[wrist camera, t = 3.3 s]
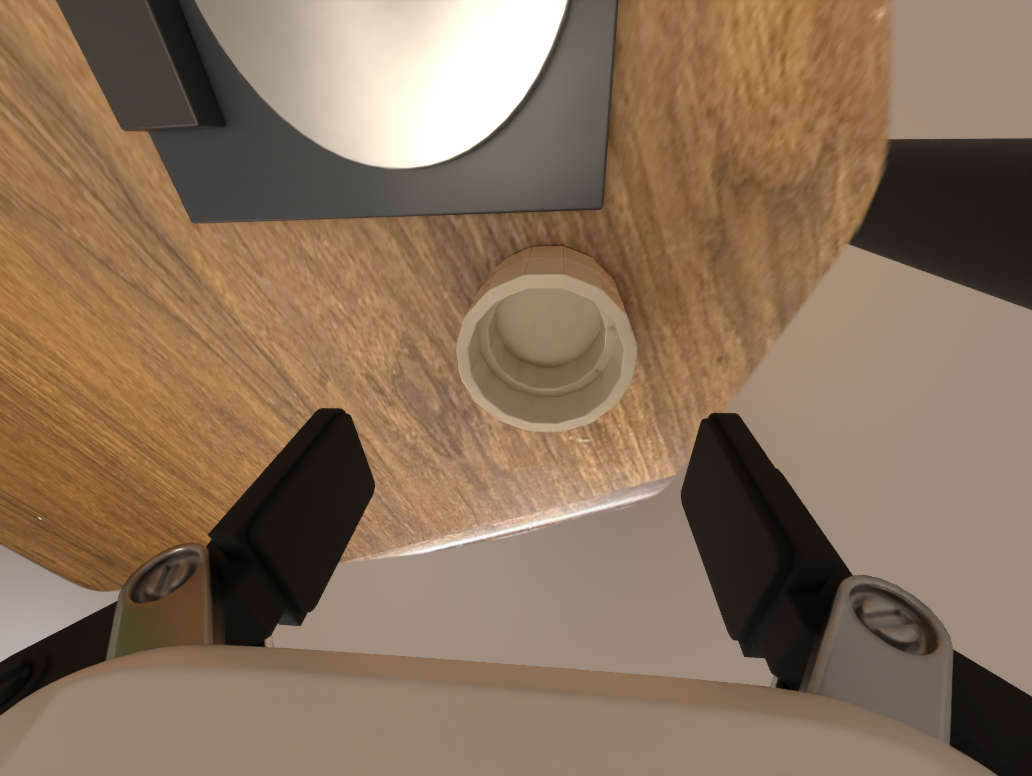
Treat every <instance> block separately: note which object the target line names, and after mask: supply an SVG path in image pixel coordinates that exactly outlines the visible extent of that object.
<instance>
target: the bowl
mask: <svg viewBox="0 0 1032 776" xmlns="http://www.w3.org/2000/svg"><path fill="white" fill-rule="evenodd" d="M637 351H638V348H637V343H636V340H635V337H634V334H633V331H632V328H631V325H630V322H629V319H628V316H627V313H626V311H625V308H624V305H623V303H622V300H621V298H620V295H619V292H618V290H617V287H616V284H615V282H614V280H613V278H612V277H611V276H610V275H609V274H608V273H607V272H606V271H605V270H604V269H603V268H602V267H601V266H600V265H599V264H598V263H597V261H596V260H595V259H592V258H591V257H589V256H587V255H584V254H582V253H579V252H577V251H575V250H572V249H570V248H567V247H563V246H538V247H532V248H531V247H530V248H527V249H525V250H523V251H521V252H519V253H517V254H514V255H512V256H510V257H508V258H506V259H504V260H503V261H502V262H501V263H500V264H499V265H498V266H497V267H496V268H495V269H494V271H493V272H492V273H491V274H490V275H489V276H488V277H487V278H486V280H485V281H484V283H483V284H482V286H481V288H480V290H479V292H478V293H477V295H476V297H475V299H474V300H473V302H472V304H471V306H470V308H469V310H468V311H467V313H466V315H465V317H464V320H463V323H462V326H461V330H460V333H459V336H458V339H457V343H456V355H457V361H458V368H459V375H460V378H461V380H462V381H463V383H464V385H465V386H466V388H467V389H468V391H469V393H470V394H471V396H472V398H473V399H474V401H475V402H476V403H477V404H478V405H479V406H481V407H482V408H483V409H484V410H486V411H487V412H488V413H490V414H491V415H492V416H494V417H495V418H496V419H497V420H499V421H500V422H503V423H506V424H509V425H512V426H514V427H517V428H520V429H523V430H526V431H530V432H563V431H567V430H570V429H574V428H577V427H581V426H584V425H588V424H590V423H592V422H594V421H595V420H597V419H598V418H599V417H601V416H602V415H604V414H605V413H606V412H608V411H609V410H611V409H612V408H614V407H615V405H617V403H618V402H619V400H620V399H621V397H622V396H623V394H624V393H625V391H626V390H627V388H628V387H629V385H630V384H631V382H632V380H633V378H634V371H635V365H636V358H637Z"/></svg>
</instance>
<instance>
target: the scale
mask: <svg viewBox="0 0 1032 776" xmlns="http://www.w3.org/2000/svg"><path fill="white" fill-rule="evenodd" d="M56 1H57V3H58V5H59V7H60V9H61V11H62V13H63V15H64V17H65V19H66V21H67V23H68V25H69V27H70V29H71V31H72V33H73V35H74V37H75V39H76V40H77V42H78V44H79V46H80V48H81V50H82V52H83V54H84V56H85V58H86V60H87V62H88V64H89V66H90V68H91V70H92V72H93V74H94V76H95V78H96V80H97V82H98V84H99V86H100V87H101V89H102V91H103V93H104V95H105V97H106V99H107V101H108V103H109V105H110V107H111V109H112V111H113V113H114V115H115V117H116V119H117V121H118V123H119V125H120V127H121V128H122V130H124V131H145V132H149V134H150V136H151V139H152V141H153V143H154V145H155V147H156V149H157V151H158V153H159V155H160V157H161V159H162V161H163V163H164V166H165V168H166V170H167V172H168V174H169V176H170V178H171V180H172V182H173V184H174V186H175V188H176V191H177V193H178V195H179V197H180V199H181V201H182V203H183V205H184V207H185V209H186V211H187V213H188V216H189V218H190V220H191V222H192V223H195V224H196V223H226V222H255V221H284V220H314V219H343V218H372V217H402V216H431V215H460V214H490V213H519V212H548V211H578V210H601V209H602V208H603V203H604V189H605V176H606V162H607V149H608V135H609V122H610V108H611V95H612V82H613V68H614V55H615V41H616V28H617V14H618V1H619V0H56Z"/></svg>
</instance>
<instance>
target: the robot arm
mask: <svg viewBox="0 0 1032 776" xmlns="http://www.w3.org/2000/svg"><path fill="white" fill-rule="evenodd" d="M374 489H375V482H374V479H373V476H372V473H371V470H370V467H369V465H368V462H367V459H366V456H365V454H364V451H363V448H362V445H361V442H360V440H359V437H358V434H357V431H356V428H355V426H354V423H353V420H352V418H351V416H350V415H349V414H346V413H345V411H344V410H343V409H340V408H321V409H318V410H317V411H316V412H315V413H314V414H313V415H312V417H311V418H310V419H309V420H308V421H307V422H306V423H305V425H304V426H303V427H302V428H301V429H300V430H299V431H298V433H297V434H296V435H295V436H294V437H293V438H292V439H291V441H290V442H289V443H288V444H287V445H286V446H285V447H284V448H283V450H282V451H281V452H280V453H279V454H278V455H277V456H276V458H275V459H274V460H273V461H272V462H271V463H270V464H269V466H268V467H267V468H266V469H265V470H264V471H263V472H262V474H261V475H260V476H259V477H258V478H257V479H256V480H255V482H254V483H253V484H252V485H251V486H250V487H249V488H248V490H247V491H246V492H245V493H244V494H243V495H242V496H241V498H240V499H239V500H238V501H237V502H236V503H235V504H234V506H233V507H232V508H231V509H230V510H229V511H228V512H227V514H226V515H225V516H224V517H223V518H222V519H221V520H220V522H219V523H218V524H217V525H216V526H215V527H214V528H213V530H212V531H211V532H210V533H209V534H208V535H209V537H210V538H211V539H212V540H211V541H210V542H209V544H208V545H207V546H206V547H205V546H203V545H202V544H200V543H193V542H191V543H185V544H180V545H177V546H174V547H171V548H168V549H166V550H164V551H162V552H161V553H159V554H157V555H155V556H153V557H152V558H151V559H149V560H148V561H146V562H145V563H144V564H142V565H141V566H140V567H139V568H138V569H137V570H136V571H135V572H134V573H133V574H131V576H130V577H129V578H128V580H127V581H126V582H125V584H124V585H123V586H122V589H121V591H120V594H119V596H118V601H116V602H114V603H113V604H111V605H109V606H107V607H105V608H103V609H101V610H99V611H97V612H95V613H93V614H91V615H89V616H87V617H85V618H83V619H81V620H80V621H78V622H76V623H74V624H72V625H70V626H68V627H66V628H64V629H62V630H60V631H58V632H56V633H54V634H52V635H50V636H48V637H47V638H45V639H43V640H41V641H39V642H37V643H35V644H33V645H31V646H29V647H27V648H25V649H23V650H21V651H19V652H17V653H16V654H14V655H12V656H10V657H8V658H7V659H5V660H3V661H2V662H0V776H1032V696H1030V695H1028V694H1026V693H1025V692H1023V691H1021V690H1020V689H1018V688H1017V687H1015V686H1013V685H1012V684H1010V683H1008V682H1007V681H1005V680H1003V679H1002V678H1000V677H998V676H997V675H995V674H993V673H992V672H990V671H988V670H987V669H985V668H983V667H982V666H980V665H978V664H977V663H975V662H973V661H972V660H970V659H968V658H967V657H965V656H963V655H962V654H960V653H958V652H957V651H955V650H953V647H952V642H951V638H950V636H949V634H948V632H947V630H946V629H945V627H944V625H943V624H942V622H941V621H940V620H939V619H938V618H937V616H936V615H935V614H934V613H933V612H932V611H931V610H930V609H929V608H928V607H927V606H926V605H925V604H923V603H922V602H921V601H920V600H918V599H917V598H916V597H915V596H913V595H912V594H910V593H909V592H907V591H905V590H903V589H902V588H900V587H899V586H897V585H895V584H892V583H890V582H887V581H885V580H882V579H880V578H876V577H871V576H866V575H857V576H856V575H855V576H853V575H852V574H851V572H850V571H849V569H848V568H847V566H846V565H845V563H844V562H843V561H842V559H841V558H840V556H839V555H838V553H837V552H836V550H835V549H834V548H833V546H832V545H831V543H830V542H829V540H828V539H827V538H826V536H825V535H824V533H823V532H822V530H821V529H820V527H819V526H818V525H817V523H816V522H815V520H814V519H813V517H812V516H811V514H810V513H809V512H808V510H807V509H806V507H805V506H804V504H803V503H802V502H801V500H800V499H799V497H798V496H797V494H796V493H795V491H794V490H793V488H792V487H791V485H790V484H789V483H788V481H787V480H786V478H785V477H784V475H783V474H782V473H781V472H780V471H779V470H778V469H777V468H775V467H774V465H773V464H772V463H771V461H770V460H769V458H768V457H767V455H766V454H765V452H764V451H763V449H762V448H761V446H760V445H759V443H758V442H757V441H756V439H755V438H754V436H753V435H752V433H751V432H750V430H749V429H748V427H747V426H746V425H745V423H744V422H743V420H742V419H741V417H740V416H739V415H738V414H736V413H712V414H710V415H709V417H708V419H703V420H702V421H701V423H700V427H699V430H698V434H697V437H696V441H695V444H694V448H693V451H692V455H691V458H690V462H689V466H688V469H687V473H686V476H685V480H684V483H683V487H682V490H681V501H682V506H683V508H684V511H685V514H686V517H687V520H688V522H689V525H690V528H691V531H692V534H693V536H694V539H695V542H696V544H697V547H698V550H699V553H700V556H701V559H702V561H703V564H704V567H705V570H706V573H707V575H708V578H709V581H710V584H711V587H712V589H713V592H714V595H715V598H716V601H717V603H718V606H719V609H720V612H721V615H722V617H723V620H724V623H725V626H726V628H727V631H728V633H729V635H730V637H731V638H732V639H733V640H737V641H739V644H740V647H741V650H742V652H743V655H744V657H754V658H765V659H766V662H767V664H768V667H769V669H770V671H771V673H772V674H773V675H774V677H773V680H772V683H771V686H770V687H766V686H757V685H747V684H737V683H727V682H717V681H706V680H696V679H685V678H675V677H664V676H650V675H639V674H626V673H614V672H601V671H589V670H575V669H563V668H552V667H551V668H550V667H538V666H525V665H512V664H499V663H486V662H472V661H459V660H445V659H433V658H418V657H406V656H391V655H376V654H362V653H348V652H334V651H320V650H304V649H290V648H274V646H273V639H272V632H273V631H274V629H275V627H276V625H277V624H280V625H292V626H301V624H302V622H303V621H304V618H305V617H306V615H307V613H308V612H311V611H312V610H313V609H314V608H315V607H316V605H317V604H318V601H319V600H320V598H321V596H322V594H323V592H324V590H325V588H326V586H327V584H328V582H329V580H330V578H331V576H332V574H333V572H334V570H335V568H336V566H337V564H338V562H339V560H340V558H341V556H342V554H343V552H344V551H345V549H346V547H347V545H348V543H349V541H350V539H351V537H352V535H353V533H354V531H355V529H356V527H357V525H358V523H359V521H360V519H361V517H362V515H363V513H364V511H365V509H366V507H367V505H368V503H369V501H370V499H371V497H372V495H373V493H374Z"/></svg>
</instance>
